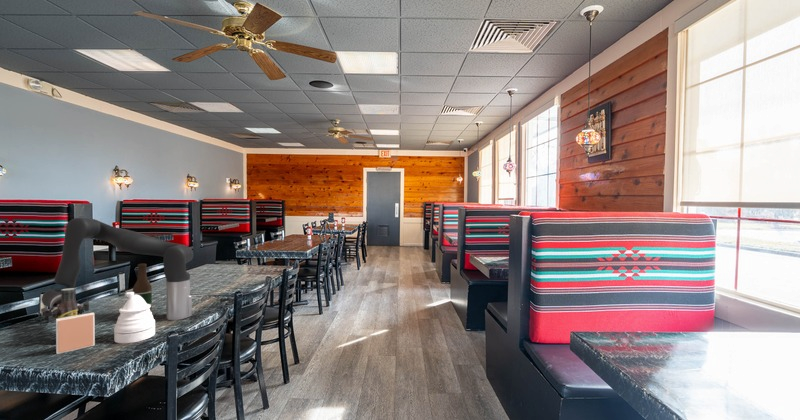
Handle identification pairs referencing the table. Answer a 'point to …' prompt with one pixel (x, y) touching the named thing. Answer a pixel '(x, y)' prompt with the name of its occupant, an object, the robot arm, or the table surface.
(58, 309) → the sauce bottle
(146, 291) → the beer bottle
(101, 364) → the table surface
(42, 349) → the table surface
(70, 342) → the tile
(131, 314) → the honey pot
